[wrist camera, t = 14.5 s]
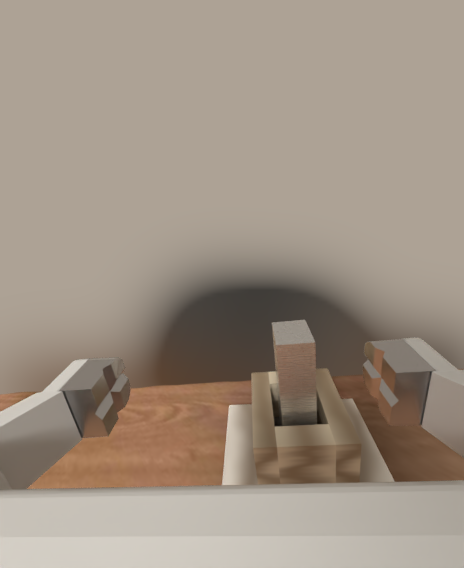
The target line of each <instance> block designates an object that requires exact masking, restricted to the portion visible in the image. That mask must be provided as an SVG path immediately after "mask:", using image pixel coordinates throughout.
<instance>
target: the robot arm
mask: <svg viewBox="0 0 464 568" xmlns="http://www.w3.org/2000/svg"><path fill="white" fill-rule="evenodd" d="M364 354H365V355H366V357H367V358H368V360H367V361H366V362H365V363H364V364H363V378H364V383H365V386H366V388H367V390H368V392H369V394H370V395H371V396H372V397H374V398H376V399H377V400H378V408H379V410H380V412H381V413H382V415H383V416H384V418H385V420H386V421H387V423H388V425H389V426H422V428H424V429H425V430H426V431H428V432H429V433H430V434H432V435H433V436H434V437H436V438H437V439H439V440H440V441H441V442H443V443H444V444H445V445H447V446H448V447H450V448H451V449H452V450H454V451H455V452H456V453H458V454H459V455H461V456H462V457H463V458H464V370H458V369H456V368H455V367H454V366H453V365H452V364H450V363H449V362H448V361H447V360H446V359H444V358H443V357H442V356H441V355H440V354H439V353H437V352H436V351H435V350H434V349H432V348H431V347H430V346H429V345H428V344H427V343H425V342H424V341H423V340H422V339H420V338H417V337H415V338H405V339H397V340H385V341H373V342H366V344H365V348H364ZM124 369H125V366H124V363H123V360H122V359H120V358H119V357H116V358H92V359H78V360H75V361H73V362H72V363H71V364H70V365H69V366H68V367H67V368H66V369H65V370H64V371H63V372H62V373H61V374H60V375H59V376H58V377H57V378H56V379H55V380H54V381H53V382H52V383H51V384H50V385H49V386H47V388H46V389H44V390H43V391H42V392H40V393H35V394H33V395H32V396H30V397H28V398H26V399H24V400H22V401H20V402H18V403H16V404H14V405H12V406H11V407H9V408H7V409H5V410H3V411H1V412H0V568H464V480H459V481H408V482H357V483H306V484H255V485H205V486H155V487H106V488H56V489H27V488H28V487H29V486H30V485H31V484H32V483H33V482H35V481H36V480H37V479H38V478H39V477H40V476H41V475H43V474H44V473H45V472H46V471H47V470H48V469H49V468H50V467H52V466H53V465H54V464H55V463H56V462H57V461H58V460H59V459H61V458H62V457H63V456H64V455H65V454H66V453H67V452H69V451H70V450H71V449H72V448H73V447H74V446H75V445H76V444H78V443H79V442H80V441H81V440H82V438H91V437H106V436H109V434H110V432H111V431H112V429H113V427H114V425H115V424H116V422H117V420H118V414H117V413H118V412H119V411H120V410H121V409H123V408H124V407H125V406H126V404H127V402H128V400H129V395H130V383H129V379H128V378H127V377H126V376H125V375H124V374H123V371H124Z"/></svg>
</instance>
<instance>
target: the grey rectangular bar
mask: <svg viewBox="0 0 464 568" xmlns="http://www.w3.org/2000/svg"><path fill="white" fill-rule="evenodd" d="M272 329H273V342H274V354H275V366H276V378H277V390H278V403H279V415H280V425H281V426H298V425H317V395H316V354H315V353H316V350H315V341H314V338H313V336H312V334H311V332H310V330H309V327H308V325H307V323H306V321H305V320H297V321H285V322H273V323H272Z"/></svg>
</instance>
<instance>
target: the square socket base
mask: <svg viewBox="0 0 464 568" xmlns="http://www.w3.org/2000/svg"><path fill="white" fill-rule="evenodd" d="M251 377H252V404H245V405H229V413H228V424H227V436H226V447H225V458H224V470H223V481H222V485H255V484H306V483H357V482H395V481H394V479H393V477H392V475H391V473H390V471H389V469H388V467H387V465H386V463H385V461H384V460H383V458H382V456H381V454H380V452H379V450H378V448H377V446H376V444H375V442H374V440H373V438H372V436H371V434H370V432H369V430H368V428H367V426H366V424H365V422H364V420H363V418H362V416H361V414H360V412H359V410H358V409H357V407H356V405H355V403H354V401H353V399H341V398H340V395H339V393H338V391H337V389H336V387H335V384H334V382H333V380H332V378H331V376H330V373H329V371H328V369H327V368H321V369H316V395H317V425H298V426H281V425H280V415H279V403H278V390H277V378H276V371H275V372H259V373H252V374H251Z"/></svg>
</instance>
